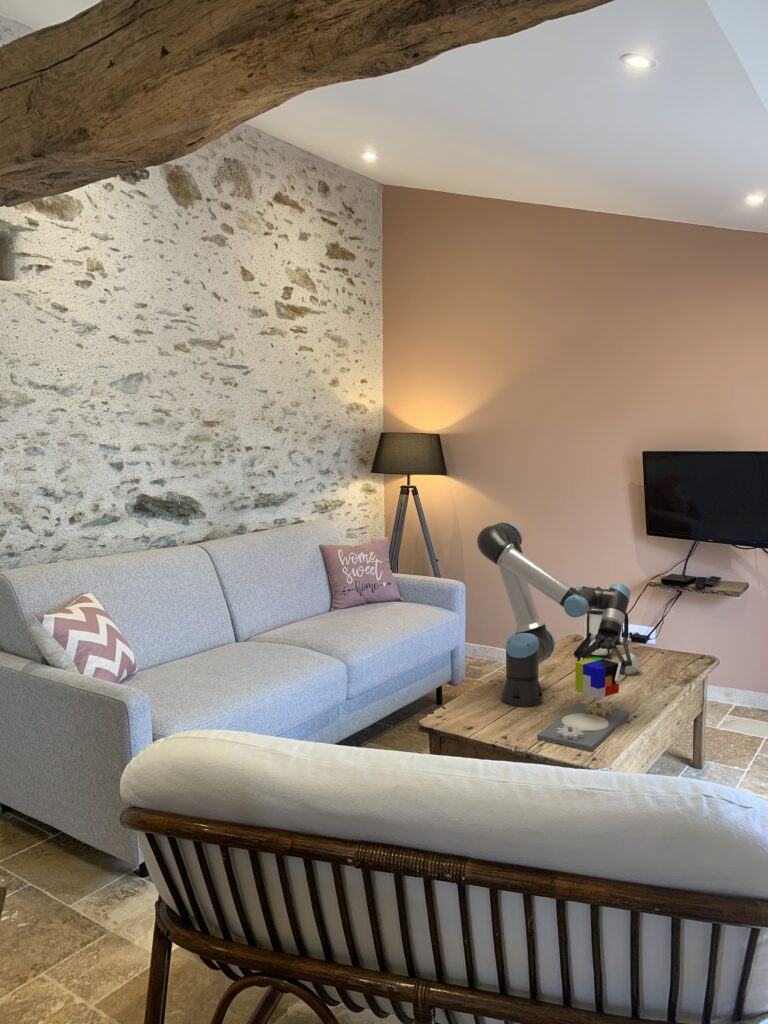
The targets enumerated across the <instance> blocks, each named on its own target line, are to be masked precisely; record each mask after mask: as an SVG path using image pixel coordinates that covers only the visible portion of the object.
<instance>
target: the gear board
mask: <svg viewBox="0 0 768 1024" xmlns="http://www.w3.org/2000/svg"><path fill="white" fill-rule="evenodd" d="M629 717H630V711H626V710H620V709H616V708H612V706H611V705H606V704H605V703H601V702H592V703H591V704H589V703H585V702H584V703H583V702H578V703H577V704H575V705H574V706H573V707H571V708H570V709H568V710H567V711H566V712H565V713H563V714H562V715H561V716H559V717H558V718H557V719H556V720H554V721H553V722H551V723H550V724H549V725H548V726H546V727H545V728H544V729H543V730H541V731H540V732H539V733H538V734H537V735H536V736H537V737H536V739H537V740H538V739H541V740H540V741H542V740H545V741H544V742H547V741H550V742H549V743H551V742H555V743H554V744H556V743H559V744H558V745H560V744H564V745H563V746H565V745H568V746H567V747H569V746H573V747H572V748H574V747H577V748H576V749H578V748H582V749H581V750H583V749H585V750H584V751H587V750H589V751H588V752H593V751H594V750H596V748H598V746H600V745H601V744H602V743H603V742H604V741H605V740H606V739H607V738H608V737H609V736H611V734H612V733H613V732H614V731H616V729H618V728H619V727H620V726H621V725H622V724H623V723H624V722H625V721H626V720H627V719H628V718H629Z"/></svg>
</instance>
